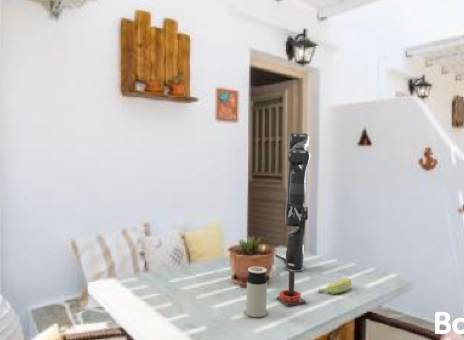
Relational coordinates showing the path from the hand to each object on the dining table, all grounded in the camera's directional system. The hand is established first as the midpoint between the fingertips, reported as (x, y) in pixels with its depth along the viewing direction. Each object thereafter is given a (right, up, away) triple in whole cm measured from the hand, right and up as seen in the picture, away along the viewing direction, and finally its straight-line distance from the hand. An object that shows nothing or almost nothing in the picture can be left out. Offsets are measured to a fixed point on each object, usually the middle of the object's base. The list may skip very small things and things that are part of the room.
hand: (296, 226), depth 182 cm
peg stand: (-4, -30, -14) cm, 34 cm away
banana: (+19, -30, +3) cm, 36 cm away
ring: (-4, -29, -13) cm, 32 cm away
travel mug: (-19, -31, -27) cm, 46 cm away
